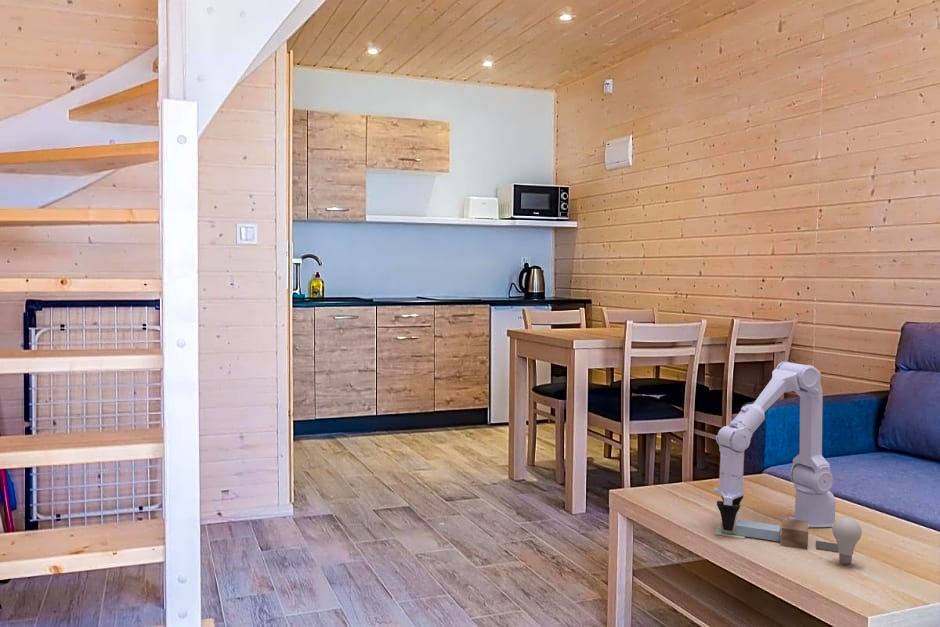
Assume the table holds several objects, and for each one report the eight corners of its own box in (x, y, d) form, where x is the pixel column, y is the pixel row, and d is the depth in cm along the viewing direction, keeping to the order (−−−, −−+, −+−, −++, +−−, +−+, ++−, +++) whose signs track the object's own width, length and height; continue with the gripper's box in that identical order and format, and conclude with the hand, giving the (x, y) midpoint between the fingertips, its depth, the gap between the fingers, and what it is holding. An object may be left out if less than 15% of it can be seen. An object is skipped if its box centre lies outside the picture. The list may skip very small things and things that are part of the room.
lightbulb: (826, 564, 176) (828, 517, 176) (836, 557, 180) (838, 511, 180) (854, 571, 172) (856, 523, 171) (863, 565, 176) (866, 518, 175)
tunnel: (807, 538, 193) (808, 521, 193) (807, 549, 185) (808, 531, 185) (781, 534, 196) (782, 517, 196) (780, 545, 188) (781, 527, 187)
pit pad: (842, 545, 189) (842, 544, 189) (843, 553, 183) (843, 552, 183) (816, 541, 191) (816, 540, 191) (816, 549, 186) (816, 548, 186)
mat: (746, 530, 198) (746, 529, 198) (744, 538, 192) (744, 537, 192) (718, 526, 201) (718, 525, 201) (715, 534, 195) (715, 533, 195)
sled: (780, 535, 194) (781, 511, 194) (779, 541, 190) (780, 517, 189) (723, 526, 200) (724, 504, 199) (721, 532, 195) (722, 509, 195)
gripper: (718, 465, 204) (716, 515, 205) (711, 478, 191) (709, 531, 192) (746, 468, 201) (743, 519, 202) (741, 481, 188) (739, 536, 189)
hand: (729, 525), depth 197 cm, fingers open, 7 cm apart
